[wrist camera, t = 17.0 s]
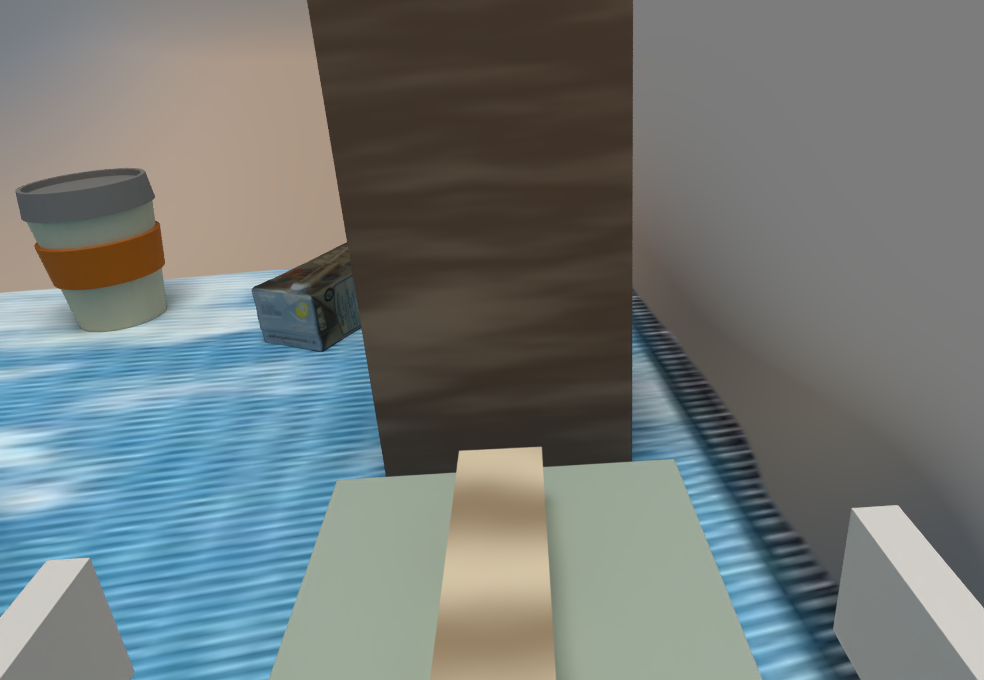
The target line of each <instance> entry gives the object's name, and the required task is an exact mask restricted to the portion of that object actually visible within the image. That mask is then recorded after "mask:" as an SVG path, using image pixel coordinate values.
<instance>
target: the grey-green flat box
mask: <svg viewBox="0 0 984 680" xmlns="http://www.w3.org/2000/svg"><path fill="white" fill-rule="evenodd" d="M543 477H544V493H545V509H546V525H547V541H548V557H549V573H550V589H551V605H552V621H553V637H554V653H555V669H556V680H762V678H761V675H760V673H759V670H758V668H757V665H756V663H755V660H754V658H753V655H752V653H751V650H750V648H749V645H748V643H747V640H746V638H745V635H744V633H743V630H742V628H741V625H740V623H739V620H738V618H737V615H736V613H735V610H734V608H733V605H732V603H731V600H730V598H729V595H728V593H727V590H726V588H725V585H724V583H723V580H722V578H721V575H720V573H719V570H718V568H717V565H716V563H715V560H714V558H713V555H712V553H711V550H710V548H709V545H708V543H707V540H706V538H705V535H704V533H703V530H702V528H701V525H700V523H699V520H698V518H697V515H696V513H695V510H694V508H693V505H692V503H691V500H690V497H689V495H688V492H687V490H686V487H685V485H684V482H683V480H682V477H681V475H680V472H679V470H678V467H677V465H676V462H675V460H674V459H668V460H652V461H635V462H619V463H603V464H587V465H571V466H555V467H543ZM455 479H456V473H442V474H426V475H410V476H394V477H377V478H361V479H345V480H337V482H336V485H335V488H334V491H333V494H332V497H331V500H330V503H329V506H328V509H327V512H326V514H325V517H324V520H323V523H322V526H321V529H320V532H319V535H318V538H317V541H316V544H315V547H314V549H313V552H312V555H311V558H310V561H309V564H308V567H307V570H306V573H305V576H304V579H303V582H302V584H301V587H300V590H299V593H298V596H297V599H296V602H295V605H294V608H293V611H292V614H291V617H290V620H289V622H288V625H287V628H286V631H285V634H284V637H283V640H282V643H281V646H280V649H279V652H278V655H277V657H276V660H275V663H274V666H273V669H272V672H271V675H270V678H269V680H430V676H431V668H432V660H433V652H434V644H435V636H436V628H437V621H438V613H439V605H440V597H441V589H442V581H443V573H444V566H445V558H446V550H447V542H448V534H449V526H450V518H451V510H452V503H453V495H454V487H455Z"/></svg>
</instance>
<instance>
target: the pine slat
mask: <svg viewBox="0 0 984 680" xmlns="http://www.w3.org/2000/svg"><path fill="white" fill-rule="evenodd" d="M430 680H556V669H555V653H554V637H553V621H552V605H551V589H550V573H549V557H548V541H547V525H546V509H545V493H544V477H543V460H542V447H527V448H507V449H487V450H468V451H459V455H458V463H457V471H456V479H455V487H454V495H453V503H452V510H451V518H450V526H449V534H448V542H447V550H446V558H445V566H444V573H443V581H442V589H441V597H440V605H439V613H438V621H437V628H436V636H435V644H434V652H433V660H432V668H431V676H430Z"/></svg>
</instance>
